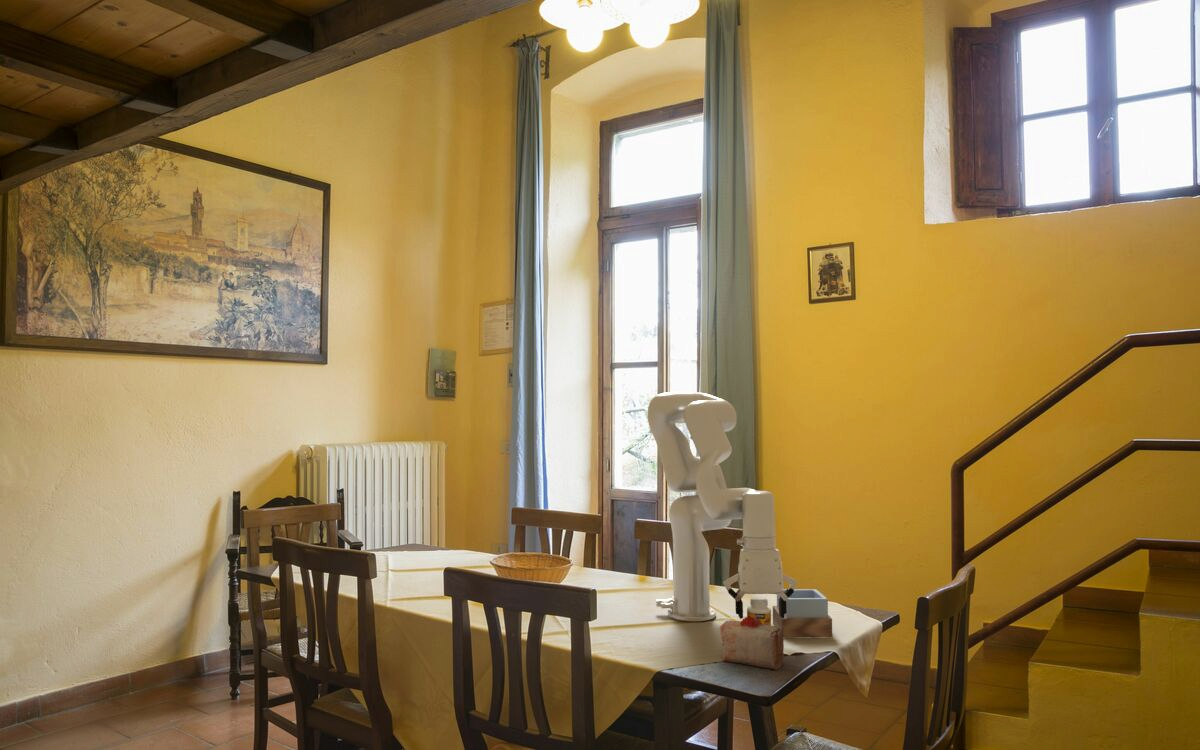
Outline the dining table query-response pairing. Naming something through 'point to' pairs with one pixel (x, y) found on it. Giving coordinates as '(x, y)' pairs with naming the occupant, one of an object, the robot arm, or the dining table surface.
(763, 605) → the supplement bottle
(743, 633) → the food item
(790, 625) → the tower base
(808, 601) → the tower top
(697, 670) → the dining table surface
